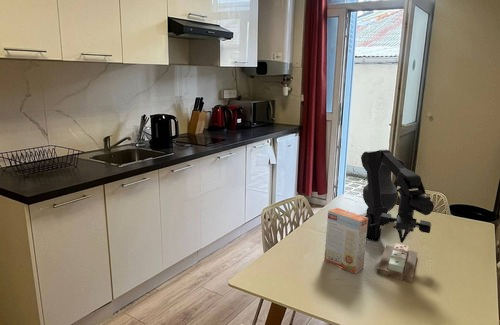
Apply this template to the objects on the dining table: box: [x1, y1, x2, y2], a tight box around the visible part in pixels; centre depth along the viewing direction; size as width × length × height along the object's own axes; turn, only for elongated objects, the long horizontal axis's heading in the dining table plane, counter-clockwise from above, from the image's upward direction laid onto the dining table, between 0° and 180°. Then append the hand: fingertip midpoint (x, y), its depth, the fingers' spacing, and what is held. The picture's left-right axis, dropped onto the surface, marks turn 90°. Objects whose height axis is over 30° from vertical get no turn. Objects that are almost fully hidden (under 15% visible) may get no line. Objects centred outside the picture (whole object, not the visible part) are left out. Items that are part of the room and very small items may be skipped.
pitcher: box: [362, 157, 406, 213], centre depth 189 cm, size 17×21×30 cm
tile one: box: [388, 258, 406, 273], centre depth 134 cm, size 5×5×3 cm
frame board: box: [376, 245, 418, 283], centre depth 140 cm, size 12×22×2 cm, turn 152°
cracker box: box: [323, 207, 368, 274], centre depth 137 cm, size 14×6×21 cm, turn 42°
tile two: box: [391, 250, 408, 265], centre depth 140 cm, size 5×5×3 cm
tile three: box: [393, 242, 409, 257], centre depth 146 cm, size 5×5×3 cm
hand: (401, 242), depth 145 cm, fingers closed
